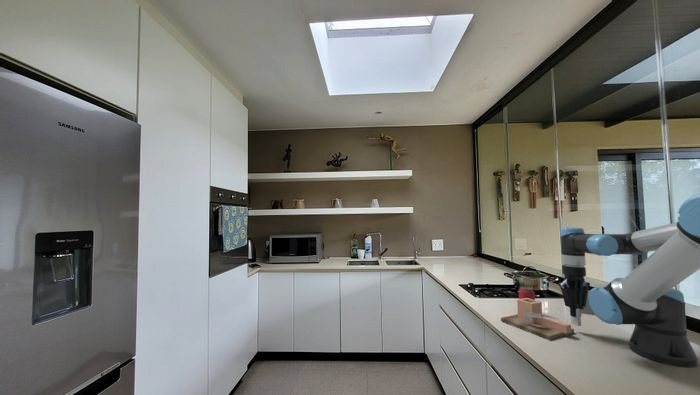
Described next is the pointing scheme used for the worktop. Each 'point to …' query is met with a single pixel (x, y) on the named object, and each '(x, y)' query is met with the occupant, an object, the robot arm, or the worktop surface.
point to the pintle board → (534, 328)
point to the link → (536, 307)
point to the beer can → (526, 292)
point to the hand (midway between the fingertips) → (576, 324)
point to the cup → (587, 307)
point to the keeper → (531, 314)
